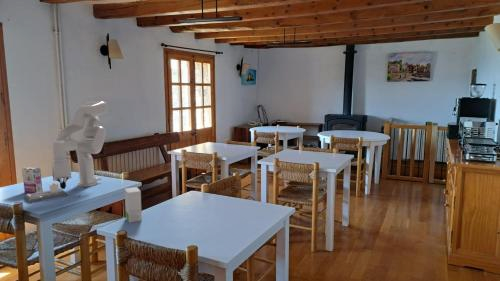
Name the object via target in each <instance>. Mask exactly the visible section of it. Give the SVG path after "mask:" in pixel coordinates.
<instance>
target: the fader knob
mask: <svg viewBox="0 0 500 281" xmlns="http://www.w3.org/2000/svg"><path fill="white" fill-rule="evenodd" d="M59 187H60V186H59V183H54V182H52V183H50V184H49V190H50V192H57V191H59V189H60V188H59Z"/></svg>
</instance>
